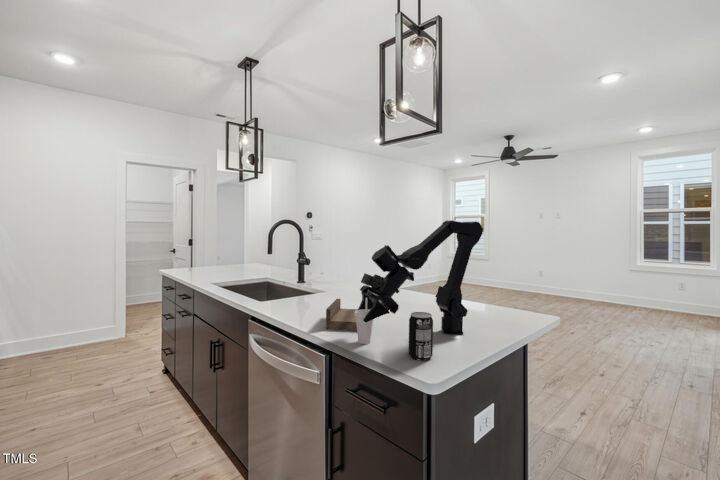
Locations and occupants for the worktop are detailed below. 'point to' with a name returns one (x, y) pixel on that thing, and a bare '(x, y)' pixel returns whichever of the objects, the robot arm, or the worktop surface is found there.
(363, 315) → the smoothie
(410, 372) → the worktop surface
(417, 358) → the beverage can
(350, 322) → the wooden l-shaped block
